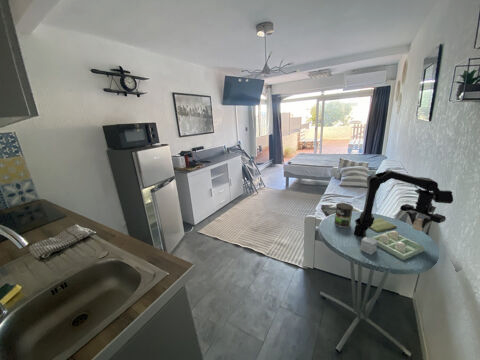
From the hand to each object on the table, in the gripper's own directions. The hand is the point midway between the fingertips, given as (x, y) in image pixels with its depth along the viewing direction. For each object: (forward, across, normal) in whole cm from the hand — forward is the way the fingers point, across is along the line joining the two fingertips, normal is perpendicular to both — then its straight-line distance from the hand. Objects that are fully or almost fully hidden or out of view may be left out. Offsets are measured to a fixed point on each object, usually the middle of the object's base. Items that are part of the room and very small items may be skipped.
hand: (418, 226), depth 114 cm
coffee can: (+12, +34, +19) cm, 40 cm away
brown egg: (+2, 0, 0) cm, 2 cm away
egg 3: (+11, -2, +17) cm, 20 cm away
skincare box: (+12, +6, +30) cm, 33 cm away
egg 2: (+11, +6, +9) cm, 15 cm away
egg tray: (+11, +2, +13) cm, 17 cm away
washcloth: (+12, +21, -1) cm, 24 cm away
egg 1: (+11, +6, +17) cm, 21 cm away
